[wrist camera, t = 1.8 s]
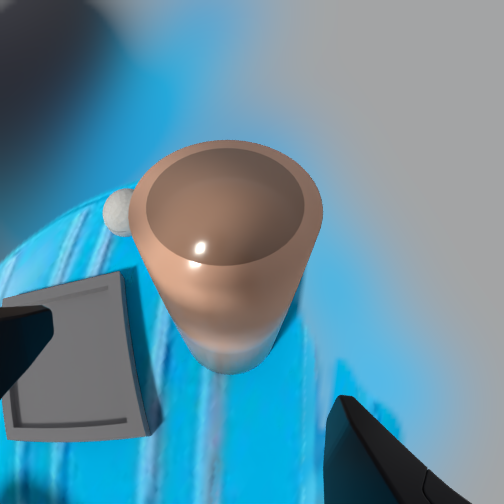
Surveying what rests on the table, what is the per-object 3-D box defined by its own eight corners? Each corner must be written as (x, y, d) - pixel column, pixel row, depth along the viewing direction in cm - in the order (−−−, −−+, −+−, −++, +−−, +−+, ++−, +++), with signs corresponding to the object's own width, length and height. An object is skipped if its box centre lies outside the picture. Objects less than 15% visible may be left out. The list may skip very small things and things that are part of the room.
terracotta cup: (286, 360, 19) (357, 254, 8) (196, 384, 18) (135, 308, 7) (259, 282, 22) (281, 130, 11) (177, 301, 21) (127, 157, 10)
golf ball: (158, 237, 24) (147, 205, 21) (114, 252, 23) (97, 222, 20) (149, 204, 26) (139, 172, 23) (109, 218, 25) (95, 187, 22)
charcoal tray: (151, 435, 16) (145, 435, 15) (16, 440, 13) (7, 439, 12) (124, 278, 22) (119, 271, 21) (10, 304, 19) (2, 298, 18)
